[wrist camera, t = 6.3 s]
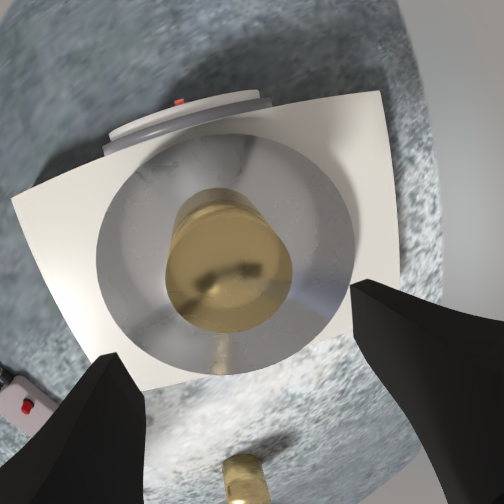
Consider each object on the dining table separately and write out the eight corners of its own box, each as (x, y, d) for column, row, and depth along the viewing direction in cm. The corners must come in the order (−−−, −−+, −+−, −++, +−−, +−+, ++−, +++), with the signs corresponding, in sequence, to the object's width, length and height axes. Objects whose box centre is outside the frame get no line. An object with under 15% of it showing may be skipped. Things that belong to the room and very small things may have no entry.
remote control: (87, 460, 26) (83, 482, 23) (-33, 368, 19) (-46, 388, 17) (124, 443, 25) (122, 468, 22) (-10, 337, 19) (-25, 359, 16)
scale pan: (322, 107, 15) (332, 106, 13) (354, 323, 20) (362, 333, 19) (65, 183, 14) (56, 188, 13) (157, 382, 19) (156, 395, 18)
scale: (354, 75, 16) (435, 60, 10) (382, 293, 22) (441, 352, 16) (25, 171, 15) (-51, 202, 8) (119, 372, 21) (104, 454, 14)
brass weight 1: (253, 179, 14) (284, 205, 10) (267, 261, 16) (298, 317, 11) (163, 198, 14) (149, 234, 9) (185, 279, 15) (184, 343, 11)
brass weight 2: (255, 450, 27) (265, 492, 23) (264, 467, 29) (274, 505, 24) (216, 459, 27) (222, 501, 22) (228, 475, 29) (235, 513, 24)
